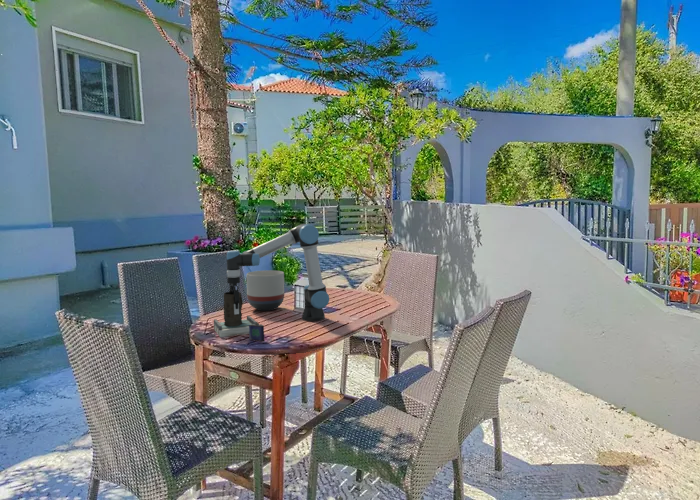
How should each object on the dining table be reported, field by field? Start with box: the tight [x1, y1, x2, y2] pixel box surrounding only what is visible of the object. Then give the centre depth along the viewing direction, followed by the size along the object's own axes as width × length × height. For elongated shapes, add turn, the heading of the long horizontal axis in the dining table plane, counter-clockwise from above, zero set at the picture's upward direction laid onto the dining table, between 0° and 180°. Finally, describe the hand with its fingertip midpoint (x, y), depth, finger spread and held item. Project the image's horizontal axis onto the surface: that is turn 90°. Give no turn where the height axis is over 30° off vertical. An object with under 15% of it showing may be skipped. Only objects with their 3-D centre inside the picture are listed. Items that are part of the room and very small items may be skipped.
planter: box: [246, 269, 285, 312], centre depth 352 cm, size 27×27×27 cm
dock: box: [213, 315, 257, 338], centre depth 295 cm, size 20×22×6 cm
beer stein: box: [223, 291, 243, 327], centre depth 296 cm, size 15×11×20 cm
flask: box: [248, 321, 265, 342], centre depth 276 cm, size 9×3×11 cm, turn 72°
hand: (234, 312), depth 295 cm, fingers open, 11 cm apart
